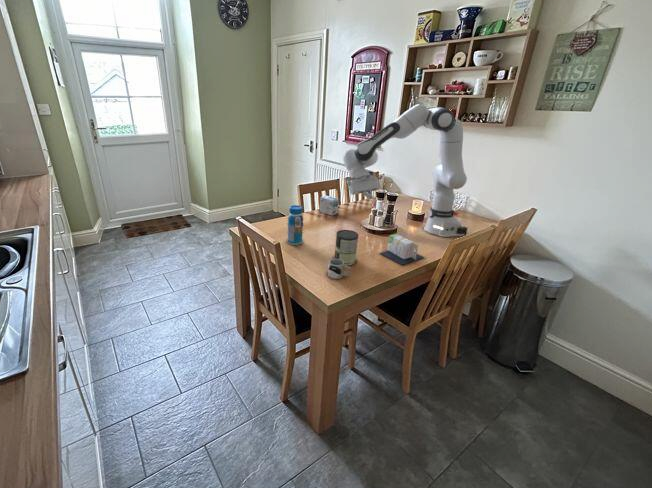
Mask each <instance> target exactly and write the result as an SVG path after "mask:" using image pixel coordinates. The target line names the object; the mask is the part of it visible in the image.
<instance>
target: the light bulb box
mask: <svg viewBox="0 0 652 488" xmlns="http://www.w3.org/2000/svg"><path fill="white" fill-rule="evenodd" d="M319 200H320V201H319V213H322V214H324V215H328V216H330V217H331V216H336V215H337V214H338V212H339V201H340V199H339V198H338V197H335V196H334V197H333V196H330V195H323V196H320V199H319Z"/></svg>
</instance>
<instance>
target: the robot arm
mask: <svg viewBox="0 0 652 488" xmlns="http://www.w3.org/2000/svg"><path fill="white" fill-rule="evenodd" d="M422 126H424V127H425V128H426V129H429V130H433V131H439V134H440V135H439V136H440V137H439V138H440V139H439V154H438V156H439V159H440V162H441V163H439V164H437V165H436V166H435V167H434V168H433V170H432V176H433V196H432V203H431V206H430V209H429V212H428V218H427V221H426V223H425V225H424V227H423V230H424V231H425V232H426V233H429V234H432V235H436V236H437V237H442V238H449V237H464V236H465V235H466V234H467V232H468V229H469V228H468V227H467V226H463V225H462V223H461V221H460V220H458V218H457V217H455V216H458V214H459V213H458V212H457V211H456V210H454V209H453V207H454V202H455V198H456V196H455V191H454V190H459V189H461V188H463V187H464V186H465V185H466V183H467V181H468V177H467V174H466V173H465V168H464V161H463V144H464V127H463V126H464V125H463V122H462V121H461V120H460V119H458V118H456V117H455V115H454V113H453V111H452V110H451V109H449V108H446V107H441V106H437V107H427V106H426V105H424V104H421V103H417V104H415V105H414V106H412V107H410V108H409V109H407V110H406V111H404V112H403V113H402V114H401V115H399V117H397V118H396V119H395V120H394V121H392V122H391V123H389V124H387V125H386V126H384V127H382V128H381V129H380V130H379V131H377V132H376V133H375V134H373V135H372V136H370V137H369V138H367V139H364V140H362V141H360V142H358V143H357V144H356V145H355V147H354V148H350V149H348V150H347V151H345V152H344V154H343V155H342V161H343V164H344V166H345V169H346V170H347V172H348V173H349V176H350V177H349V178H347V179H346V184H347V187H348V188H347V189H348V190H349V193H350V194H351V195H353V196H354V195H360V194H362V195H363V196H364V197H365V198H366V200H372V199H374V195H373V192H375V191H378V190H379V189H381V188H382V187H381V183H380V181H379V179H378V177H377V176H376V174H375V172H374V171H372V170H368V169H366V168H369V167H371V166H373V165H375V164H376V163H377V161H378V159H379V156H378V153H377V151H376V150H377V149H378V148H379V147H380V146H382V145H384V144H385V143H387V142H388V141H389V140H391V139H400V140H402V139H406V138H407V137H409V136H410V135H412V134H413V133H415V132H416V131H417V130H418V129H419V128H420V127H422Z"/></svg>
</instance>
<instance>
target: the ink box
mask: <svg viewBox="0 0 652 488" xmlns="http://www.w3.org/2000/svg"><path fill="white" fill-rule="evenodd" d="M418 249H419V244H418V243H415V242H414V241H412V240H410V239H408V238H406V237H404V236H401V234H398V233H394V234H390V235H389V236H388V241H387V248H386V251H390V252H392V253H394V254H395V255H397V256H399V257H401V258H403V259H407V258H410V257H412V258H413V259H416V255H417V254H418ZM414 253H415V254H414Z"/></svg>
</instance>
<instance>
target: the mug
mask: <svg viewBox="0 0 652 488" xmlns="http://www.w3.org/2000/svg"><path fill="white" fill-rule="evenodd" d="M344 269H348V272H344ZM351 274H352V267H351V266H350V265H345V264H344V261H343V260H341V259H334V258H331V259H329V260H328V269H327V276H328V277H329V278H330V279H333V280H340V279H342V278H344V277H350V276H351Z"/></svg>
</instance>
